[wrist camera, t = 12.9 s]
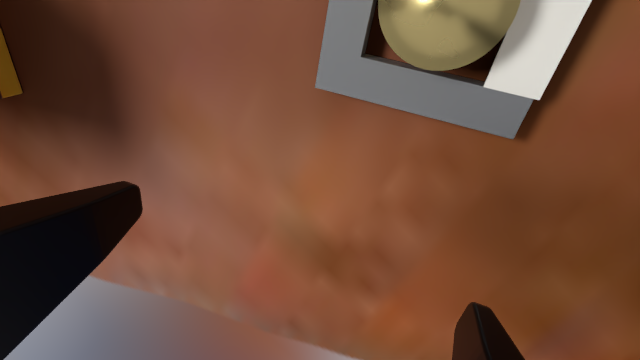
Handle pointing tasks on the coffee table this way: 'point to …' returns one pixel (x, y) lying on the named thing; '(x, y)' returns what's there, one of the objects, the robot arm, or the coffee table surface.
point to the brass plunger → (444, 29)
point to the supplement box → (7, 72)
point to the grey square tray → (443, 88)
